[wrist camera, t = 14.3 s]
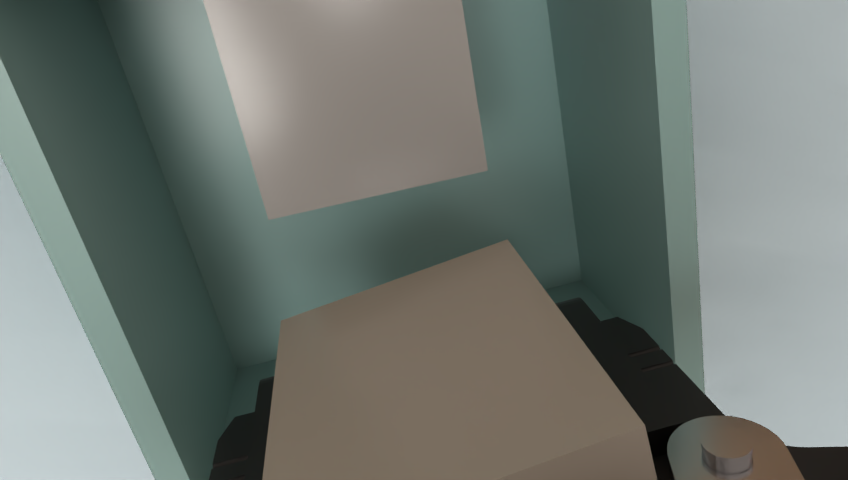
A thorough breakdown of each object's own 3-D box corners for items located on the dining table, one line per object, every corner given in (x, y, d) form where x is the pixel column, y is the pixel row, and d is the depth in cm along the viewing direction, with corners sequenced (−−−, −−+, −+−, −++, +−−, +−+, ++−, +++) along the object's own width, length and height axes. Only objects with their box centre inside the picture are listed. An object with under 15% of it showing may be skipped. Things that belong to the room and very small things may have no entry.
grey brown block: (235, -19, 15) (196, -21, 10) (410, -54, 15) (450, -71, 10) (283, 153, 16) (268, 220, 11) (440, 118, 16) (487, 170, 12)
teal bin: (64, -32, 14) (-93, -43, 9) (546, -138, 15) (676, -208, 10) (225, 380, 19) (186, 544, 13) (595, 284, 19) (705, 402, 14)
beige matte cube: (281, 320, 11) (251, 569, 6) (507, 239, 11) (645, 425, 6) (362, 494, 12) (388, 796, 8) (560, 421, 12) (702, 679, 8)
